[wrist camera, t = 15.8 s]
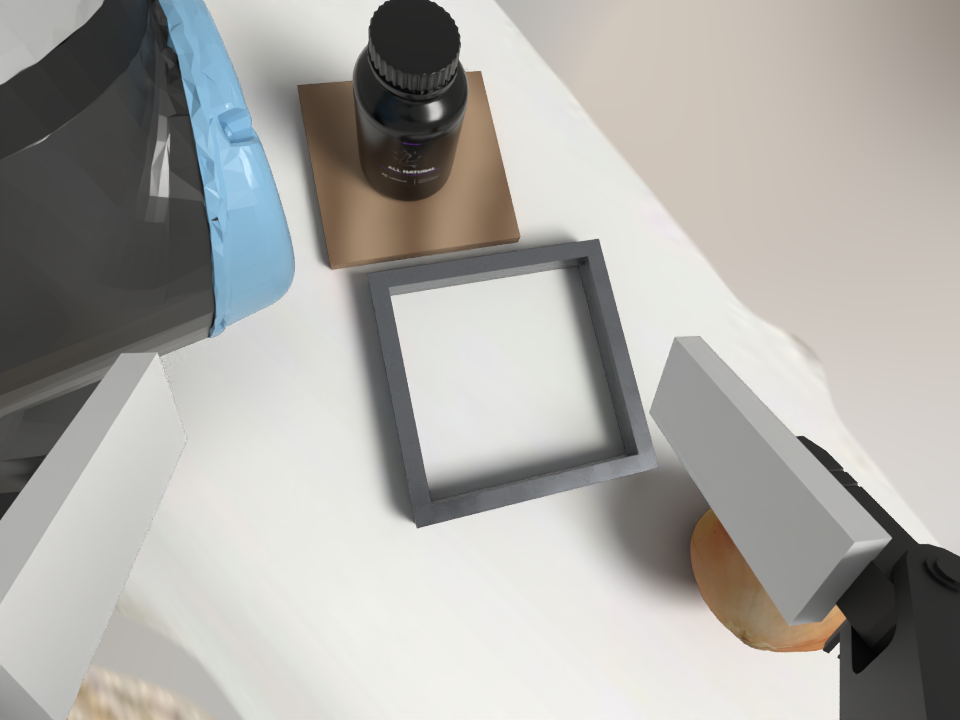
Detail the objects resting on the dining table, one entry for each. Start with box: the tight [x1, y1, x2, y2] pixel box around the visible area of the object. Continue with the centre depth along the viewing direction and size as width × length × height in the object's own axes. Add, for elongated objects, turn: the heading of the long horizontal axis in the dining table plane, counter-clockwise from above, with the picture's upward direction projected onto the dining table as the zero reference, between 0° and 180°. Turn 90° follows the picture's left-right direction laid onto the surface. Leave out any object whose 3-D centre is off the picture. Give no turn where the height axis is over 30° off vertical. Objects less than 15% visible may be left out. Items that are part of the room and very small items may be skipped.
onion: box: [690, 508, 846, 652], centre depth 33 cm, size 10×10×10 cm
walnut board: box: [297, 71, 520, 269], centre depth 38 cm, size 14×14×1 cm
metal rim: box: [368, 239, 659, 528], centre depth 36 cm, size 17×17×2 cm
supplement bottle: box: [353, 0, 469, 201], centre depth 32 cm, size 7×7×12 cm
